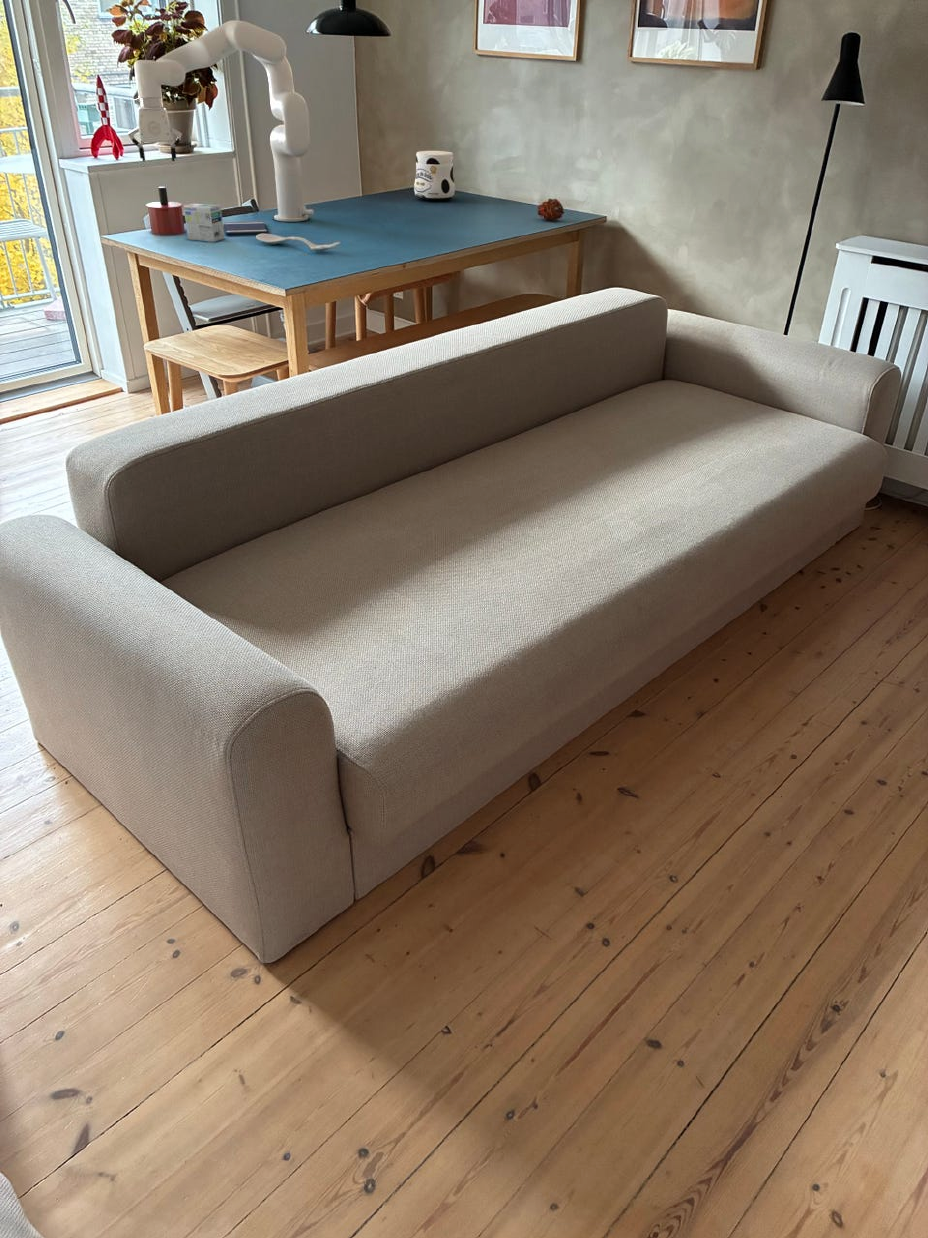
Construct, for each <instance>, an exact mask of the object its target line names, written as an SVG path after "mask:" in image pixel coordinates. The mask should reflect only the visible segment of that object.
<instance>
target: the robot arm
mask: <svg viewBox="0 0 928 1238" xmlns="http://www.w3.org/2000/svg"><path fill="white" fill-rule="evenodd" d="M238 51H243V52H246V53H248V54H251V55H252V56H253V57H254V59H255V60H257V61H258V62H260V64H262V66H263V67H264V70H265V71H266V74H267V79H268V89H269V101H270V102H269V103H270V109H271V110H270V111H271V114H272V115H273V117H274V118H275V119H277V120H280V121H282V122H283V124H279V125H277V126H275V127H274V128H272V131H271V133H270V135H269V136H270V137H269V144H270V150H271V153H272V157H273V166H274V167H273V168H274V179H275V192H276V203H277V204H276V205H277V214H275V215H274V216H273V217H274V218H273V219H274V220H275V221H277V222H285V223H294V222H295V223H299V222H305V221H307V220H309V216H310V217H311V216H312V217H313V216H315V210H314V209H308V208H307V206H306V205H304V199H303V195H304V194H303V181H302V180H303V179H302V166H301V161H300V158H301V157H303V156H304V155H306V154H307V152H308V151H309V148H310V145H311V139H310V138H311V135H310V134H311V133H310V119H309V109H308V106H307V102H306V100H305V99H304V97H303V96H302V95H301V94H300V93H298V92H296V91H295V87H294V78H293V71H292V68H291V64H290V63H289V60H288V58H287V45H286V43H285V41H284V39H283V38H282V37H281V36H279V34H276V33H274V32H272V31H269V30H268V29H267V30H266V29H264V28H261V27H259V26H257V25H255V24H252V23H250V22H248V21H244V20H235V19H234V20H233V19H231V20H228V21H225V22H224V23H222V24H220V25H218V26H217V27H215V28H214V29H212V30H210V31H208V32H207V33H205V34H203V35H201V36H199V37H198V38H196V39H194V40H192V41H189V42H187V43H185V44H183V45H182V46H179V47H176V48H175V49H173V50H171V51H169V52H167V53H166V54H164V55H162V56H160V57H159V58H157V59H156V60H152V59H138V60H135V61H134V64H133V65H134V66H133V67H134V68H133V69H134V76H135V82H136V89H137V97H138V98H135V99H134V100H133V102H134V104H135V105H138V106H139V107H138V108H137V126H138V127H135V128H134V129H132V130H130V131H129V132H128V134H127V135H128V137H129V139H130V140H131V142H132V143H133V144H134V145H135V146H136V147H137V148H138V152H139V159H142V162H146V154H145V149H144V144H145V143H168V145H170V154H171V155H170V156H171V161H172V162H175V159H177V153H176V147H177V146H178V145H179V143H180V142H181V140H182V136H183V133H182V132H180V131H178V130H176V129H175V128H172V127H171V125H170V119H169V114H168V111H167V108H165V107H164V99H163V93H162V86H169V87H178V86H180V85H182V84H183V83H184V82H185V81H186V74H187V73H189V72H192V71H194V70H199V69H206V68H209V67H211V66H214V65H216V64H217V63H219V62H221V61H222V60H224V59H225V58H227V57H229V56H231V55H233V54H234V53H236V52H238ZM136 134H138V135H139V139H140V141H139V140H138V139H136V137H135V135H136ZM173 134H174V135H175V136H176V139H175V140H174V141H173V140H172V135H173Z"/></svg>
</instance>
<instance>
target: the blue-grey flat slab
mask: <svg viewBox="0 0 928 1238" xmlns="http://www.w3.org/2000/svg"><path fill="white" fill-rule="evenodd" d="M223 227H224V231H225V236H227V237H241V236H242V237H243V236H257V235H258V234H269V233H268V229H267V227H266V225H265V222H264V221H239V222H237V221H235V222H232V221H231V222H223Z"/></svg>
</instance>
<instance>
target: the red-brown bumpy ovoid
mask: <svg viewBox="0 0 928 1238" xmlns="http://www.w3.org/2000/svg"><path fill="white" fill-rule="evenodd" d="M536 212H537V215H538V216H540V218H543V220H544V221H545V222H548V221H550V222H556V221H557V220H558V219H561V218H562V217H563V215H564V214H565V211H564V206H563V204H562V203H561V202H560V201H559V200H558V199H557V198H553V199H552V198H548V199H547V200H546V201H543V202H542V203H541V204H539V205H538V207H537V211H536Z"/></svg>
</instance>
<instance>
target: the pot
mask: <svg viewBox="0 0 928 1238" xmlns="http://www.w3.org/2000/svg"><path fill="white" fill-rule="evenodd" d="M147 211H148V218H149V224H150V232H151V234H153V235H156V236H177V235H181V234H184V233H185V232H186V230H185V229H186V228H185V221H184V215H183V214H184V213H183V206H182V207H179V208H172V209H153V208H148V207H147Z"/></svg>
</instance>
